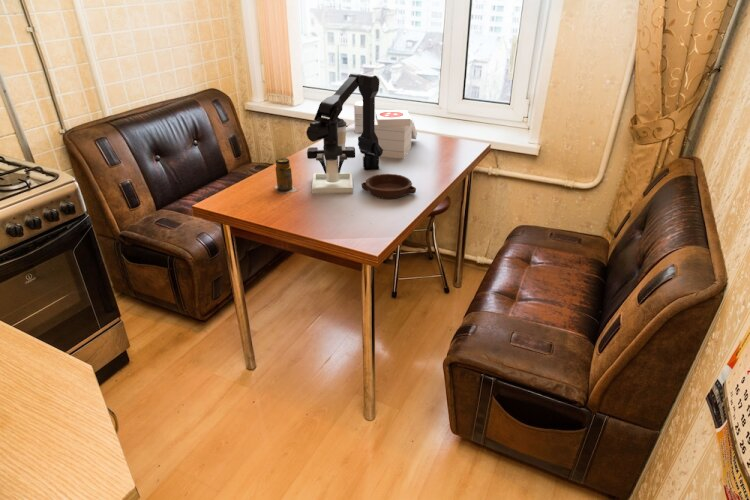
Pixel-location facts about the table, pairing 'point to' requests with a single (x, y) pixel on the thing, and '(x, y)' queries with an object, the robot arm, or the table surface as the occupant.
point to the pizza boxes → (394, 132)
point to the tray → (332, 184)
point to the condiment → (284, 176)
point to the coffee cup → (341, 133)
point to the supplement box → (358, 116)
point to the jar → (332, 170)
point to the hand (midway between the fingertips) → (332, 173)
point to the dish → (388, 186)
